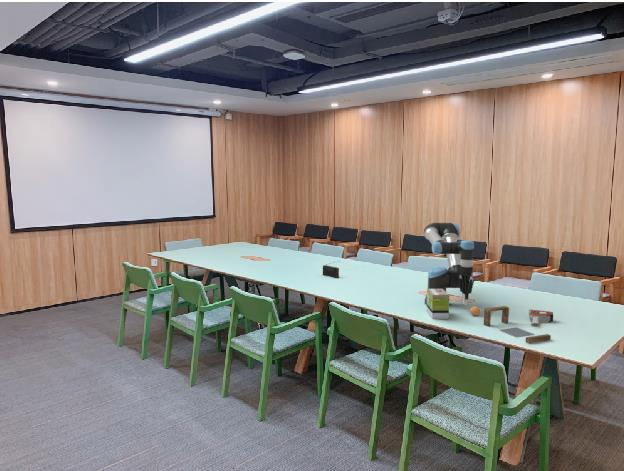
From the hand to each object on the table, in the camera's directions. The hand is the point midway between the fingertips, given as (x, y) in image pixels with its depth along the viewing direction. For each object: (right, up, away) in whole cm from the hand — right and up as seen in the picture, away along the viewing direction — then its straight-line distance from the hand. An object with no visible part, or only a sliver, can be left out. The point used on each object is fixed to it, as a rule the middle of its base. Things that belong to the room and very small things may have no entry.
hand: (465, 304), depth 272 cm
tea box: (-19, -6, -7) cm, 21 cm away
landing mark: (+14, -9, -38) cm, 41 cm away
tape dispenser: (+34, -8, -19) cm, 40 cm away
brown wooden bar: (+19, -11, -51) cm, 55 cm away
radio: (-78, +7, +102) cm, 128 cm away
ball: (+3, -3, -8) cm, 9 cm away
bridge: (+9, -7, -24) cm, 27 cm away
